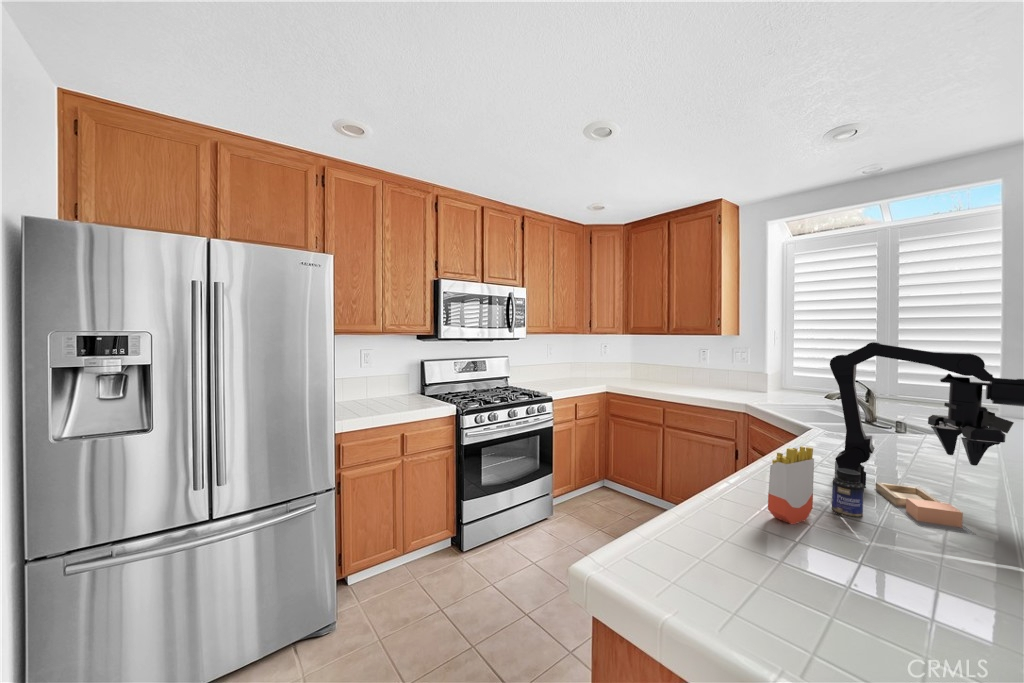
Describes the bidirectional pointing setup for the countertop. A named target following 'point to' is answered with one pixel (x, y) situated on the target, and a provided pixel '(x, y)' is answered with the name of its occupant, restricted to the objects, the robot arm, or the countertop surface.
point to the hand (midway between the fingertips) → (961, 459)
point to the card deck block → (934, 512)
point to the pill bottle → (847, 493)
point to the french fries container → (791, 485)
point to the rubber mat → (933, 525)
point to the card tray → (902, 493)
